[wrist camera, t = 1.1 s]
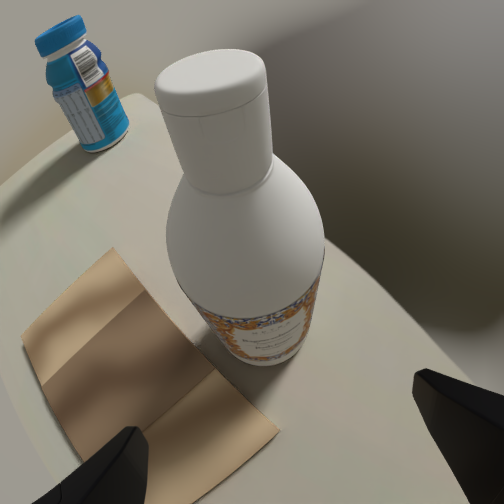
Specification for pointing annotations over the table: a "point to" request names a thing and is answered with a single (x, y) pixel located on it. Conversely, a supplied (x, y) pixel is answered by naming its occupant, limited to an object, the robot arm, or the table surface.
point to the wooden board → (140, 384)
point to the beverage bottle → (82, 85)
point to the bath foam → (238, 209)
